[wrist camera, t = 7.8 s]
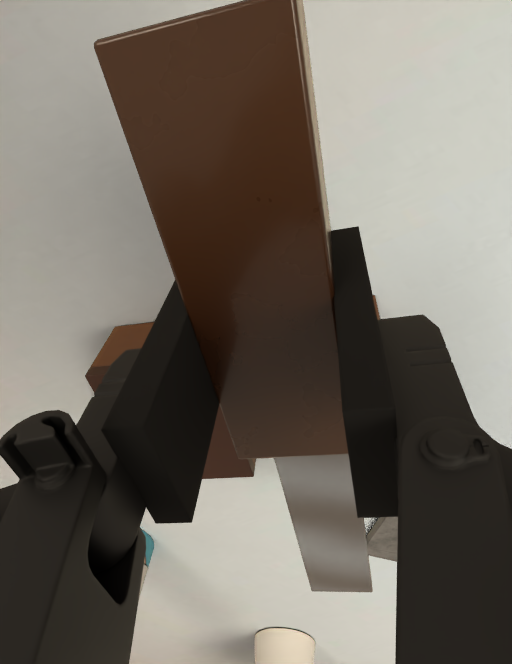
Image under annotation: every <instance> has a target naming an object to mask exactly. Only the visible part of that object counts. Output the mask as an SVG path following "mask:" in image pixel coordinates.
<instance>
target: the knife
mask: <svg viewBox="0 0 512 664" xmlns="http://www.w3.org/2000/svg"><path fill="white" fill-rule="evenodd" d="M94 49H95V51H96V54H97V57H98V60H99V63H100V66H101V69H102V71H103V74H104V77H105V80H106V83H107V86H108V89H109V91H110V94H111V97H112V100H113V103H114V106H115V108H116V111H117V114H118V117H119V120H120V123H121V126H122V128H123V131H124V134H125V137H126V140H127V143H128V145H129V148H130V151H131V154H132V157H133V160H134V163H135V165H136V168H137V171H138V174H139V177H140V180H141V183H142V185H143V188H144V191H145V194H146V197H147V200H148V202H149V205H150V208H151V211H152V214H153V217H154V220H155V222H156V225H157V228H158V231H159V234H160V237H161V239H162V242H163V245H164V248H165V251H166V254H167V257H168V259H169V262H170V265H171V268H172V271H173V274H174V277H175V279H176V282H177V285H178V288H179V291H180V294H181V296H182V299H183V302H184V305H185V308H186V311H187V314H188V316H189V319H190V322H191V325H192V328H193V330H194V333H195V336H196V339H197V342H198V345H199V347H200V350H201V353H202V356H203V359H204V362H205V364H206V367H207V370H208V373H209V376H210V379H211V381H212V384H213V387H214V390H215V393H216V396H217V398H218V401H219V405H220V408H221V410H222V413H223V416H224V419H225V422H226V425H227V427H228V430H229V433H230V436H231V439H232V442H233V445H234V447H235V450H236V453H237V456H238V458H239V459H257V458H274V459H275V463H276V466H277V470H278V473H279V477H280V480H281V484H282V487H283V491H284V494H285V498H286V502H287V505H288V509H289V512H290V516H291V519H292V523H293V526H294V530H295V533H296V537H297V540H298V544H299V548H300V551H301V555H302V558H303V562H304V565H305V569H306V572H307V576H308V579H309V583H310V586H311V590H312V591H327V592H372V591H373V590H372V580H371V572H370V564H369V556H368V548H367V541H366V533H365V525H364V518H357V511H356V504H355V497H354V490H353V483H352V476H351V469H350V462H349V455H348V448H347V441H346V434H345V427H344V420H343V413H342V401H341V387H340V373H339V359H338V346H337V332H336V318H335V304H334V296H335V289H334V273H333V257H332V242H331V227H330V219H329V210H328V202H327V194H326V186H325V178H324V169H323V161H322V153H321V145H320V137H319V128H318V120H317V112H316V104H315V96H314V87H313V79H312V71H311V63H310V54H309V46H308V38H307V30H306V22H305V13H304V5H303V0H244V1H240V2H237V3H233V4H229V5H225V6H222V7H218V8H214V9H210V10H207V11H203V12H199V13H195V14H192V15H188V16H184V17H180V18H177V19H173V20H169V21H165V22H162V23H158V24H154V25H150V26H147V27H143V28H139V29H136V30H132V31H128V32H124V33H121V34H117V35H113V36H109V37H106V38H102V39H98V40H97V41H96V42H95V43H94Z"/></svg>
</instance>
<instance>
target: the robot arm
mask: <svg viewBox="0 0 512 664" xmlns="http://www.w3.org/2000/svg"><path fill="white" fill-rule="evenodd" d="M331 242H332V257H333V273H334V289H335V296H334V304H335V318H336V332H337V346H338V359H339V373H340V387H341V401H342V413H343V420H344V427H345V434H346V441H347V448H348V455H349V462H350V469H351V476H352V483H353V490H354V497H355V504H356V511H357V518H370V517H398V545H397V606H396V664H512V449H510V448H508V447H506V446H503V445H501V444H499V443H498V442H497V441H495V440H494V439H492V438H491V437H490V436H489V435H488V434H487V433H486V432H485V431H484V430H482V429H481V428H480V427H479V425H478V424H477V422H476V420H475V418H474V416H473V414H472V411H471V409H470V406H469V404H468V401H467V398H466V396H465V393H464V391H463V388H462V386H461V383H460V381H459V378H458V375H457V373H456V370H455V368H454V365H453V363H452V362H451V357H450V355H449V352H448V350H447V348H446V345H445V342H444V340H443V337H442V334H441V332H440V329H439V327H437V326H436V325H435V324H434V323H432V322H431V321H430V320H429V319H428V318H426V317H425V316H424V315H415V316H406V317H397V318H389V319H380V320H377V315H376V310H375V305H374V300H373V295H372V290H371V286H370V281H369V276H368V271H367V266H366V261H365V256H364V252H363V247H362V242H361V237H360V232H359V227H352V228H346V229H339V230H333V231H331ZM218 407H219V401H218V398H217V396H216V393H215V390H214V387H213V384H212V381H211V379H210V376H209V373H208V370H207V367H206V364H205V362H204V359H203V356H202V353H201V350H200V347H199V345H198V342H197V339H196V336H195V333H194V330H193V328H192V325H191V322H190V319H189V316H188V314H187V311H186V308H185V305H184V302H183V299H182V296H181V294H180V291H179V288H178V285H177V282H176V279H175V282H174V284H173V286H172V288H171V290H170V292H169V294H168V296H167V298H166V300H165V302H164V304H163V306H162V308H161V310H160V312H159V314H158V316H157V318H156V320H155V322H154V324H153V326H152V328H151V330H150V332H149V334H148V336H147V338H146V340H145V342H144V344H143V346H142V348H138V349H129V350H125V351H124V352H123V353H122V354H121V355H120V356H119V357H118V358H117V359H116V360H115V361H114V362H113V363H112V364H111V365H110V366H109V368H108V370H107V372H106V373H105V375H104V377H103V379H102V384H99V386H98V388H97V389H96V391H95V393H94V397H92V398H91V400H90V402H89V404H88V406H87V407H86V409H85V411H84V413H83V415H82V416H81V418H80V420H79V422H78V423H77V425H75V423H74V422H73V420H72V418H71V417H70V415H69V414H68V413H65V412H63V411H60V410H55V411H45V412H42V413H39V414H36V415H33V416H30V417H29V418H27V419H25V420H23V421H21V422H20V423H18V424H16V425H15V426H14V427H13V428H12V429H10V430H9V431H8V432H7V433H6V434H5V435H3V437H2V438H1V439H0V455H1V456H2V458H3V459H4V460H5V461H6V462H7V464H8V465H9V466H10V467H11V469H12V470H13V471H14V472H15V474H16V475H17V476H18V477H19V479H20V480H19V482H18V483H17V484H14V485H11V486H8V487H5V488H2V489H0V664H129V659H130V653H131V646H132V639H133V633H134V626H135V620H136V613H137V606H138V600H139V593H140V586H141V580H142V573H143V566H144V560H145V553H146V536H145V535H144V533H143V531H142V530H141V528H140V524H141V521H142V518H143V515H144V512H145V509H146V508H147V509H148V511H149V513H150V514H151V516H152V518H153V519H154V521H155V523H190V522H192V520H193V515H194V511H195V507H196V502H197V498H198V494H199V489H200V485H201V481H202V476H203V472H204V468H205V464H206V459H207V455H208V451H209V446H210V442H211V438H212V433H213V429H214V425H215V420H216V416H217V412H218Z"/></svg>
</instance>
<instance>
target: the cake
mask: <svg viewBox="0 0 512 664" xmlns="http://www.w3.org/2000/svg"><path fill="white" fill-rule="evenodd" d="M153 324H154V322H150V323H142V324H134V325H125V326H117V327H115V328H114V329H113V331H112V333H111V334H110V336H109V337H108V339H107V341H106V342H105V344H104V346H103V347H102V349H101V351H100V352H99V354H98V355H97V357H96V359H95V360H94V362H93V364H92V365H91V367H90V368H89V370H88V372H87V373H86V375H85V377H86V379H87V381H88V382H89V384H90V386H91V388H92V389H93V391H94V393H95V391H96V389H97V388H98V386H99V384H102V379H103V377H104V375H105V373H106V372H107V370H108V368H109V366H110V365H111V364H112V363H113V362H114V361H115V360H116V359H117V358H118V357H119V356H120V355H121V354H122V353H123V352H124V351H125V350H129V349H138V348H142V346H143V344H144V342H145V340H146V338H147V336H148V334H149V332H150V330H151V328H152V326H153ZM255 462H256V459H239V458H238V456H237V453H236V450H235V447H234V445H233V442H232V439H231V436H230V433H229V430H228V427H227V425H226V422H225V419H224V416H223V413H222V410H221V408H220V405H219V407H218V412H217V416H216V420H215V425H214V429H213V433H212V438H211V442H210V446H209V451H208V455H207V459H206V464H205V468H204V472H203V476H202V479H212V478H234V477H253V476H254V470H255Z"/></svg>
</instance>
